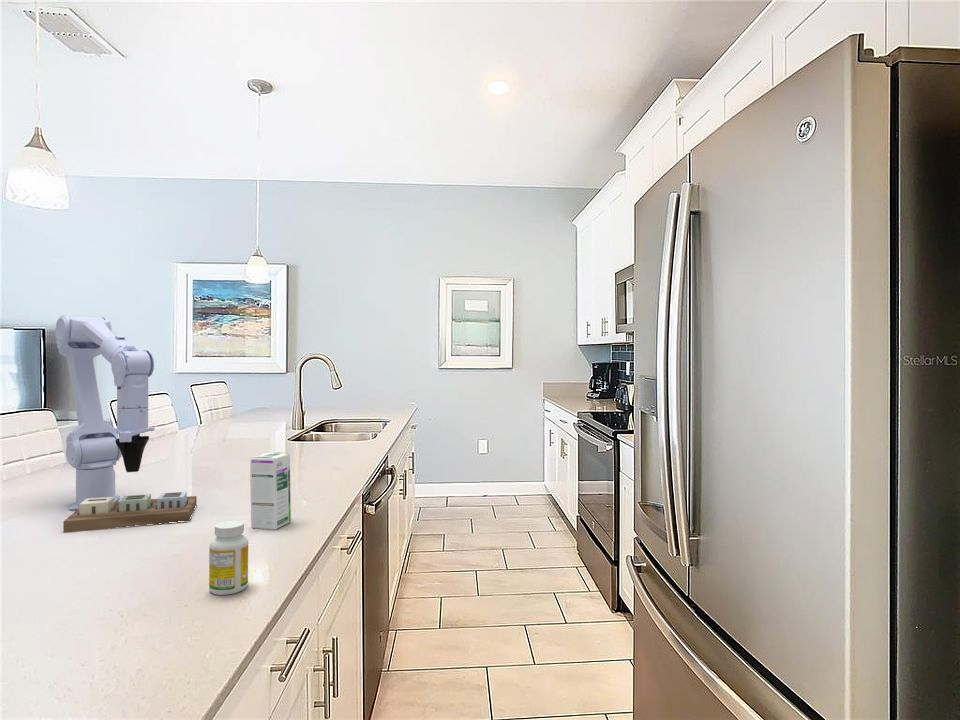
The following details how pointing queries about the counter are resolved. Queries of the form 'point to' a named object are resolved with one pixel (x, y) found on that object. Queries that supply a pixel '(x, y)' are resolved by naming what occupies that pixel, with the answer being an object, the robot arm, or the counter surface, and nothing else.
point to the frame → (129, 517)
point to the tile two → (135, 503)
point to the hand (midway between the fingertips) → (132, 471)
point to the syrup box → (270, 490)
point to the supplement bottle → (228, 559)
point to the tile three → (172, 500)
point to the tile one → (96, 505)
